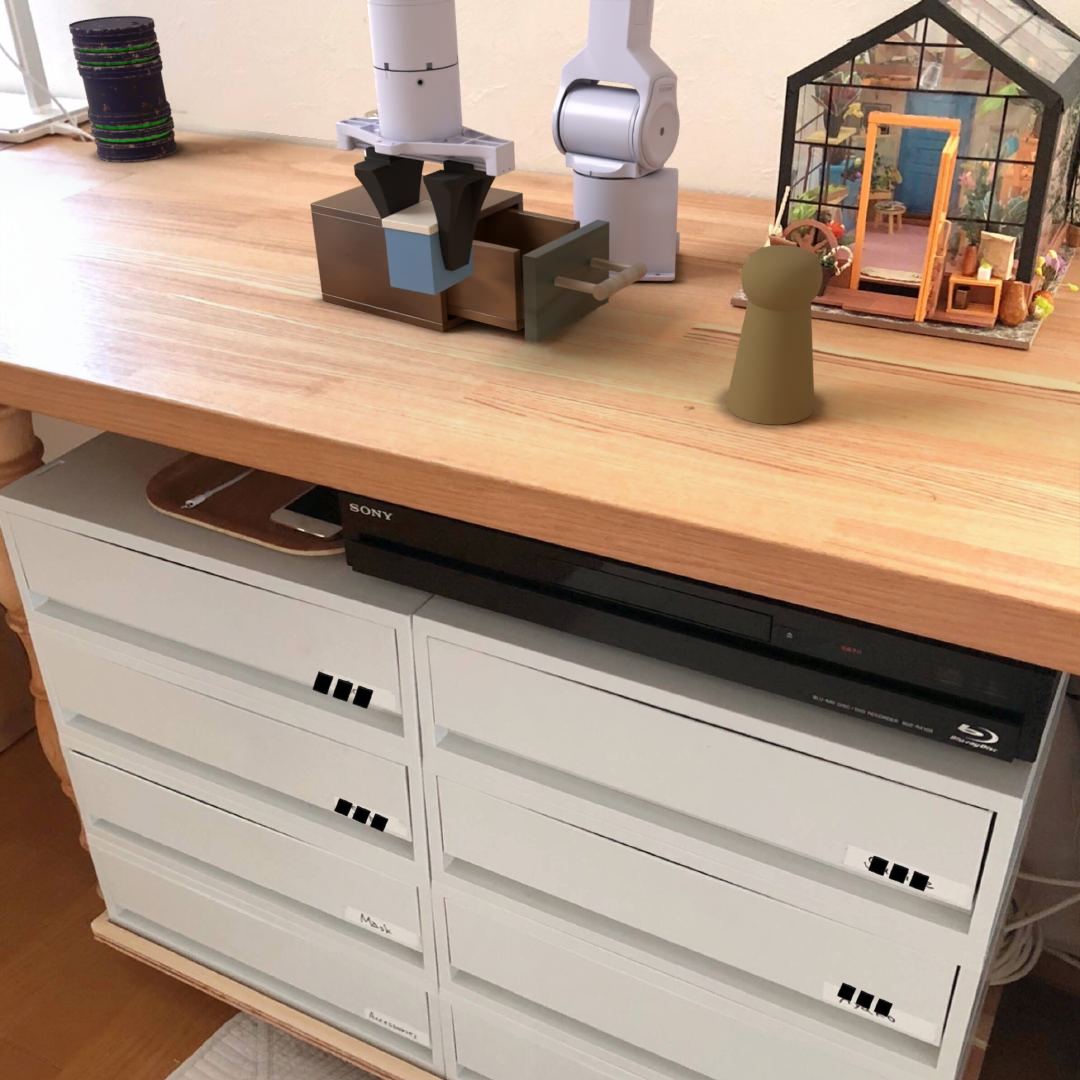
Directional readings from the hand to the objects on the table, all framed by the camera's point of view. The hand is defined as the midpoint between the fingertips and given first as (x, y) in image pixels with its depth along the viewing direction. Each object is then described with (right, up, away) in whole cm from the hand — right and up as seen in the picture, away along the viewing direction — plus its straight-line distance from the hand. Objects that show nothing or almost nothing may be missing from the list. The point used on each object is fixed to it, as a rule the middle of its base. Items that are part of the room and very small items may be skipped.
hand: (431, 260), depth 85 cm
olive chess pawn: (+24, -11, -4) cm, 27 cm away
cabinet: (-2, +1, +16) cm, 16 cm away
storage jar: (-42, +28, +60) cm, 79 cm away
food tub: (0, -1, +1) cm, 1 cm away
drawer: (+8, -2, +9) cm, 12 cm away
